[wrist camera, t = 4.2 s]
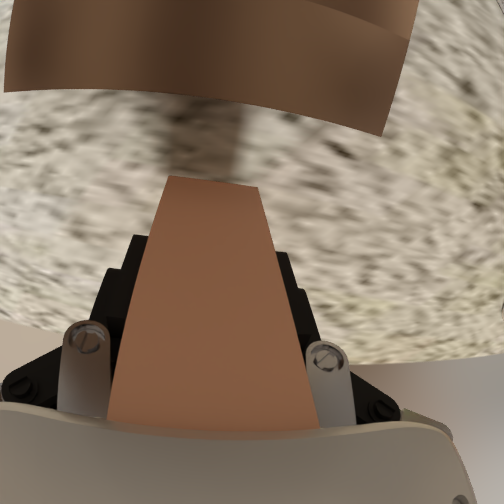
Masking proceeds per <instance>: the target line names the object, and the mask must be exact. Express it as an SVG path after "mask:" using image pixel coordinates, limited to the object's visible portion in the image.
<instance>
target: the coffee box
mask: <svg viewBox="0 0 504 504" xmlns="http://www.w3.org/2000/svg"><path fill="white" fill-rule="evenodd" d="M497 2H498V3H499V5H500V7H501V9H502V11H503V13H504V0H497Z"/></svg>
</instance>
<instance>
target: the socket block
mask: <svg viewBox="0 0 504 504" xmlns="http://www.w3.org/2000/svg"><path fill="white" fill-rule="evenodd" d="M418 3H419V0H14V4H13V10H12V15H11V21H10V28H9V35H8V43H7V52H6V63H5V77H4V93H5V92H16V91H30V90H50V89H113V90H134V91H149V92H161V93H172V94H181V95H190V96H198V97H206V98H213V99H220V100H227V101H233V102H239V103H245V104H250V105H256V106H261V107H266V108H271V109H276V110H281V111H286V112H290V113H295V114H299V115H304V116H308V117H312V118H316V119H320V120H324V121H328V122H332V123H335V124H339V125H343V126H346V127H350V128H353V129H357V130H360V131H363V132H367V133H370V134H373V135H376V136H380V137H381V136H382V133H383V130H384V127H385V123H386V120H387V117H388V114H389V111H390V108H391V104H392V101H393V98H394V95H395V91H396V88H397V84H398V81H399V77H400V74H401V70H402V67H403V63H404V60H405V56H406V52H407V48H408V44H409V41H410V37H411V33H412V29H413V24H414V20H415V16H416V12H417V7H418Z"/></svg>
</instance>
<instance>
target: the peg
mask: <svg viewBox="0 0 504 504" xmlns="http://www.w3.org/2000/svg"><path fill="white" fill-rule="evenodd" d="M106 420H111V421H118V422H124V423H131V424H139V425H147V426H156V427H166V428H177V429H191V430H208V431H290V430H308V429H320V425H319V421H318V417H317V413H316V408H315V404H314V400H313V396H312V392H311V388H310V384H309V380H308V376H307V372H306V368H305V364H304V360H303V356H302V352H301V348H300V344H299V340H298V336H297V332H296V328H295V324H294V320H293V317H292V313H291V309H290V305H289V301H288V297H287V294H286V290H285V286H284V282H283V279H282V275H281V271H280V267H279V264H278V260H277V256H276V252H275V249H274V245H273V241H272V238H271V234H270V230H269V227H268V223H267V219H266V216H265V212H264V209H263V205H262V201H261V198H260V194H259V191H258V187H251V186H245V185H238V184H231V183H224V182H217V181H209V180H202V179H194V178H186V177H178V176H169V177H168V179H167V182H166V185H165V188H164V191H163V194H162V197H161V200H160V203H159V206H158V209H157V212H156V215H155V218H154V221H153V224H152V228H151V231H150V234H149V237H148V241H147V244H146V247H145V251H144V254H143V258H142V261H141V265H140V268H139V272H138V275H137V279H136V283H135V286H134V290H133V294H132V298H131V302H130V306H129V310H128V314H127V318H126V322H125V327H124V331H123V335H122V340H121V344H120V349H119V354H118V358H117V363H116V368H115V373H114V379H113V384H112V389H111V395H110V401H109V407H108V413H107V419H106Z"/></svg>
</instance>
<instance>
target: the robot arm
mask: <svg viewBox="0 0 504 504" xmlns="http://www.w3.org/2000/svg"><path fill="white" fill-rule="evenodd" d="M148 237H149V236H143V235H135V234H134V235H133V237H132V240H131V242H130V245H129V248H128V251H127V253H126V256H125V259H124V262H123V265H122V267H121V269H114V268H108V269H107V271H106V274H105V276H104V279H103V282H102V284H101V287H100V290H99V292H98V295H97V298H96V301H95V303H94V306H93V309H92V312H91V315H90V318H89V320H84V321H79V322H76V323H74V324H73V325H71V326H70V327H69V328H68V329H67V331H66V332H65V335H64V338H63V345H62V346H60V347H58V348H56V349H55V350H53V351H51V352H49V353H47V354H45V355H43V356H41V357H39V358H37V359H35V360H33V361H31V362H29V363H27V364H25V365H23V366H21V367H20V368H18V369H16V370H14V371H12V372H11V373H9V374H8V375H7V376H6V377H5V379H4V380H3V383H0V504H477V501H476V498H475V494H474V491H473V488H472V485H471V482H470V479H469V477H468V474H467V471H466V469H465V466H464V464H463V461H462V459H461V457H460V455H459V453H458V451H457V449H456V447H455V445H454V443H453V437H452V433H451V431H450V429H449V428H448V427H447V426H446V425H444V424H443V423H440V422H438V421H435V420H433V419H430V418H427V417H425V416H423V415H420V414H418V413H415V412H412V411H410V410H407V409H405V408H404V409H403V410H400V409H399V407H398V405H397V404H396V402H395V401H394V400H393V399H392V398H391V397H389V396H388V395H386V394H384V393H383V392H381V391H380V390H378V389H377V388H375V387H374V386H372V385H371V384H369V383H368V382H366V381H364V380H363V379H361V378H360V377H358V376H357V375H355V374H354V373H352V372H351V371H350V369H349V362H348V358H347V355H346V354H345V352H344V351H343V350H342V349H341V348H340V347H339V346H337V345H335V344H334V343H331V342H328V341H321V338H320V335H319V332H318V329H317V326H316V322H315V319H314V316H313V313H312V310H311V307H310V304H309V301H308V298H307V295H306V292H305V290H304V289H300V288H298V287H297V283H296V280H295V277H294V274H293V270H292V267H291V264H290V261H289V258H288V255H287V253H286V252H278V251H275V252H276V256H277V260H278V264H279V267H280V271H281V275H282V279H283V282H284V286H285V290H286V294H287V297H288V301H289V305H290V309H291V313H292V317H293V320H294V324H295V328H296V332H297V336H298V340H299V344H300V348H301V352H302V356H303V360H304V364H305V368H306V372H307V376H308V380H309V384H310V388H311V392H312V396H313V400H314V404H315V408H316V413H317V417H318V421H319V425H320V429H308V430H290V431H208V430H191V429H177V428H166V427H156V426H147V425H139V424H131V423H124V422H118V421H111V420H106V419H107V413H108V407H109V401H110V395H111V389H112V384H113V379H114V373H115V368H116V363H117V358H118V354H119V349H120V344H121V340H122V335H123V331H124V327H125V322H126V318H127V314H128V310H129V306H130V302H131V298H132V294H133V290H134V286H135V283H136V279H137V275H138V272H139V268H140V265H141V261H142V258H143V254H144V251H145V247H146V244H147V241H148ZM502 318H503V320H504V306H503V311H502Z"/></svg>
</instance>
